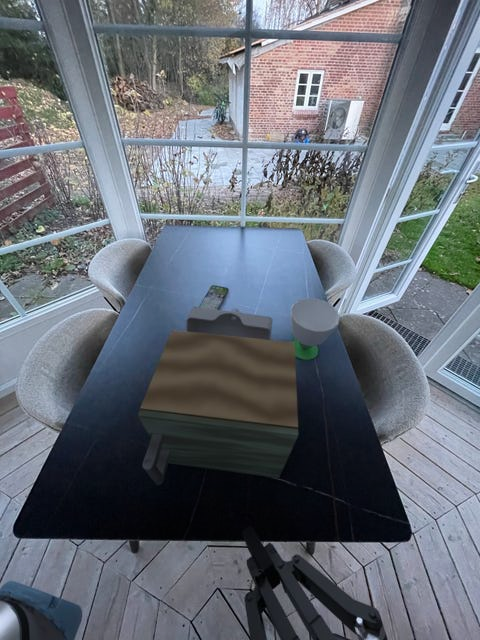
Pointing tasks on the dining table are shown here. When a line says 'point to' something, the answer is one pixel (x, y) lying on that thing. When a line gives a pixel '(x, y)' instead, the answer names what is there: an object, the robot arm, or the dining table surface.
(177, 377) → the cupboard
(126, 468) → the dining table surface
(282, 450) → the cupboard door
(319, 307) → the cup
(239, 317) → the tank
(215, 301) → the smartphone
